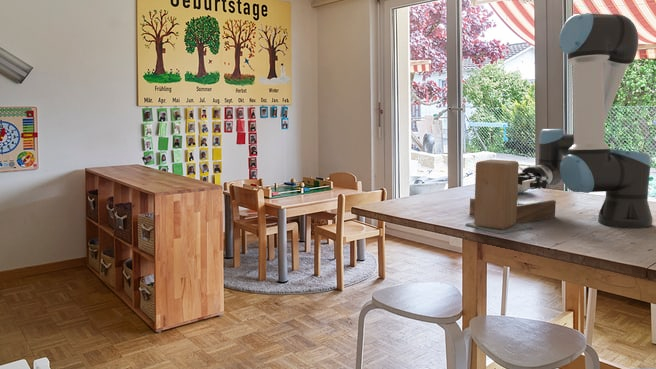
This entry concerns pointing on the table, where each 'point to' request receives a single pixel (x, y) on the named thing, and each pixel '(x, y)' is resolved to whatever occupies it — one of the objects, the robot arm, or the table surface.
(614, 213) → the robot arm
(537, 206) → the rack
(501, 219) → the wooden block
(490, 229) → the mat
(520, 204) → the offcut slab upper
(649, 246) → the table surface
